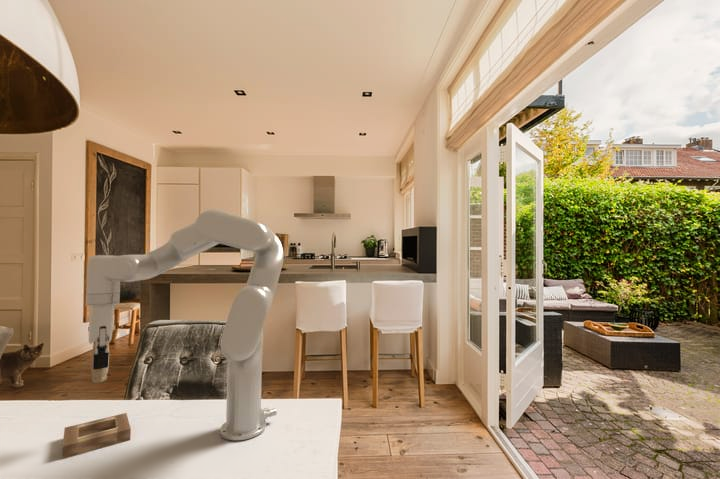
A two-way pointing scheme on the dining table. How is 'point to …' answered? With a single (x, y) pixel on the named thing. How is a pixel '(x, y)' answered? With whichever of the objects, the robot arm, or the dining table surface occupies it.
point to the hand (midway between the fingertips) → (100, 365)
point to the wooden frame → (95, 435)
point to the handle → (101, 373)
